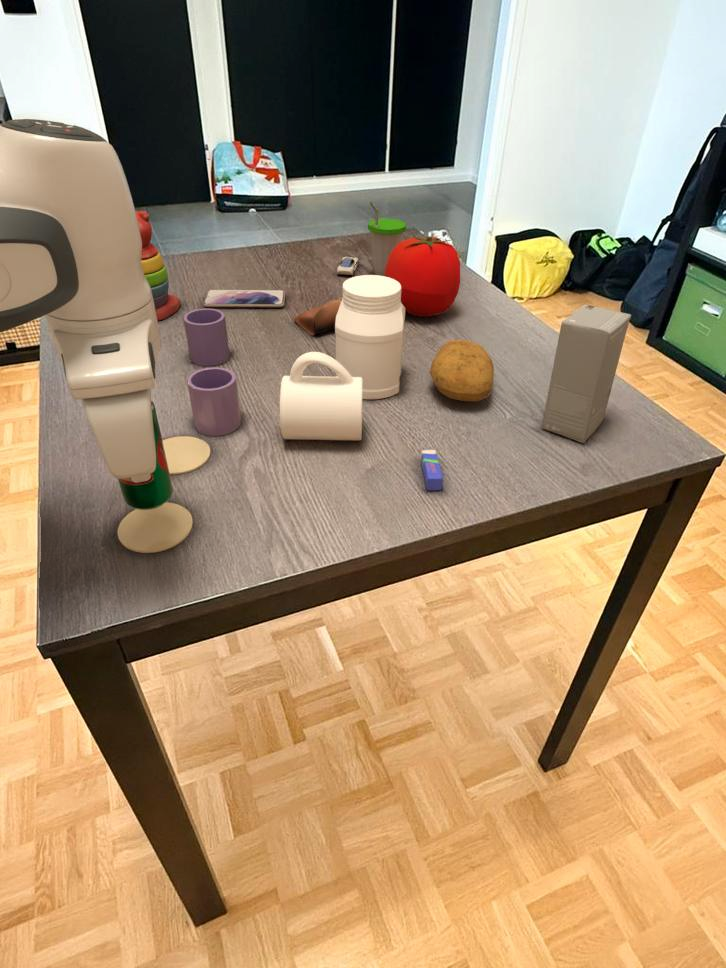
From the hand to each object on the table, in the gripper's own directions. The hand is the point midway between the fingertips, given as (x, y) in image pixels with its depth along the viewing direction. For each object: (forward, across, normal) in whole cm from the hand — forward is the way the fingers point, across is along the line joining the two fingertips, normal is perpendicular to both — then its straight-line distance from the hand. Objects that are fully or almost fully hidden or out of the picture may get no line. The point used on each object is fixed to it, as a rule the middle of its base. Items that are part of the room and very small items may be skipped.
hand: (139, 459), depth 63 cm
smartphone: (+9, -60, +22) cm, 65 cm away
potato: (+10, -17, +46) cm, 50 cm away
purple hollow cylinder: (+9, -39, +12) cm, 42 cm away
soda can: (+5, 0, 0) cm, 5 cm away
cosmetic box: (+10, -4, +57) cm, 58 cm away
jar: (+10, -24, +34) cm, 43 cm away
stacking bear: (+10, -60, +4) cm, 61 cm away
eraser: (+10, +1, +33) cm, 34 cm away
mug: (+10, -12, +23) cm, 28 cm away
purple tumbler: (+9, -19, +10) cm, 23 cm away
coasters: (+9, -7, +2) cm, 12 cm away
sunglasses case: (+10, -47, +38) cm, 61 cm away
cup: (+10, -66, +53) cm, 85 cm away
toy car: (+10, -72, +47) cm, 87 cm away
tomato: (+10, -47, +52) cm, 71 cm away
